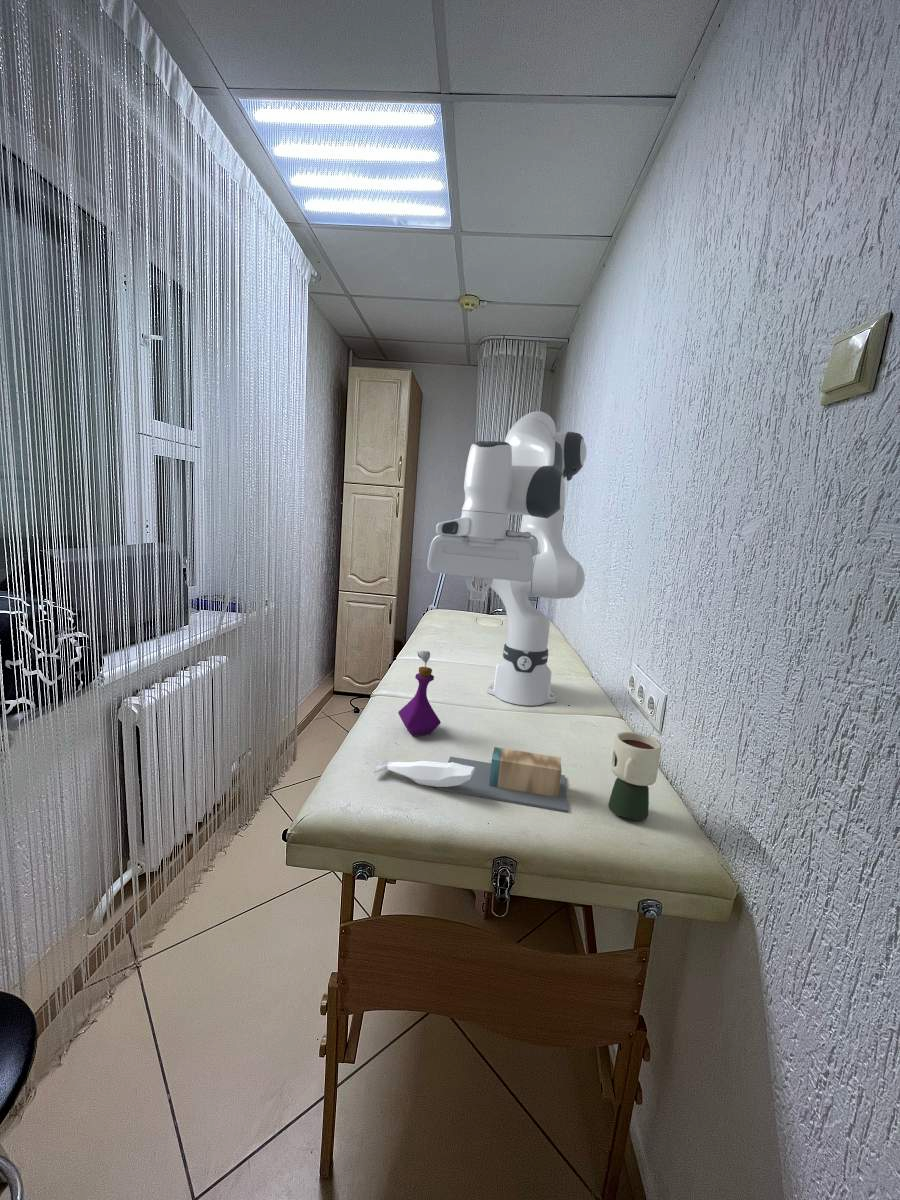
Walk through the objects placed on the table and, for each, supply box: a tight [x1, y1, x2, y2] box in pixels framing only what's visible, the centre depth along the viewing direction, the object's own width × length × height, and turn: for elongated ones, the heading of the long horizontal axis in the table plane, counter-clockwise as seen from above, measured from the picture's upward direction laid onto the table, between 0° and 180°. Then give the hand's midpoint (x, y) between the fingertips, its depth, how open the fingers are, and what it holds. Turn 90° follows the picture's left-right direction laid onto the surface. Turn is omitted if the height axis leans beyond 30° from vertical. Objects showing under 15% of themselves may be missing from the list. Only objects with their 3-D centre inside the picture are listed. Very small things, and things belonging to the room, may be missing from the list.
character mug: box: [607, 731, 662, 821], centre depth 83 cm, size 11×7×13 cm, turn 147°
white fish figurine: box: [372, 757, 476, 788], centre depth 87 cm, size 6×18×4 cm, turn 71°
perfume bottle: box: [397, 650, 441, 737], centre depth 108 cm, size 8×8×18 cm
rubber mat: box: [437, 756, 569, 813], centre depth 90 cm, size 12×22×1 cm, turn 80°
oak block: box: [489, 746, 562, 797], centre depth 89 cm, size 5×5×12 cm
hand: (477, 600), depth 96 cm, fingers closed
